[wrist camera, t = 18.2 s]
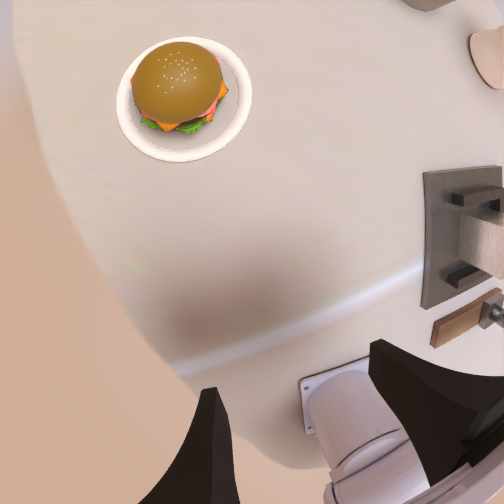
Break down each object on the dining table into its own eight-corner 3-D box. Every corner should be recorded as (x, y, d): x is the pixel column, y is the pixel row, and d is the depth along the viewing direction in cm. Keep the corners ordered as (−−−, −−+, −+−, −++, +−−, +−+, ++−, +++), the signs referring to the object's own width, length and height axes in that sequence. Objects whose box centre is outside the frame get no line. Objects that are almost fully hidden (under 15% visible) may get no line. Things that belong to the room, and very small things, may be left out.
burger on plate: (231, 210, 20) (241, 227, 14) (76, 155, 17) (37, 155, 11) (297, 61, 17) (326, 32, 12) (146, 10, 14) (132, -28, 9)
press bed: (491, 272, 26) (503, 279, 24) (420, 306, 25) (434, 317, 22) (496, 165, 22) (511, 168, 19) (423, 172, 20) (441, 175, 18)
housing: (481, 248, 23) (527, 269, 17) (457, 257, 23) (507, 283, 16) (484, 207, 22) (533, 222, 15) (460, 213, 21) (514, 231, 15)
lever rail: (492, 307, 28) (497, 310, 27) (430, 344, 27) (435, 348, 26) (497, 287, 27) (502, 290, 26) (434, 321, 26) (439, 326, 25)
